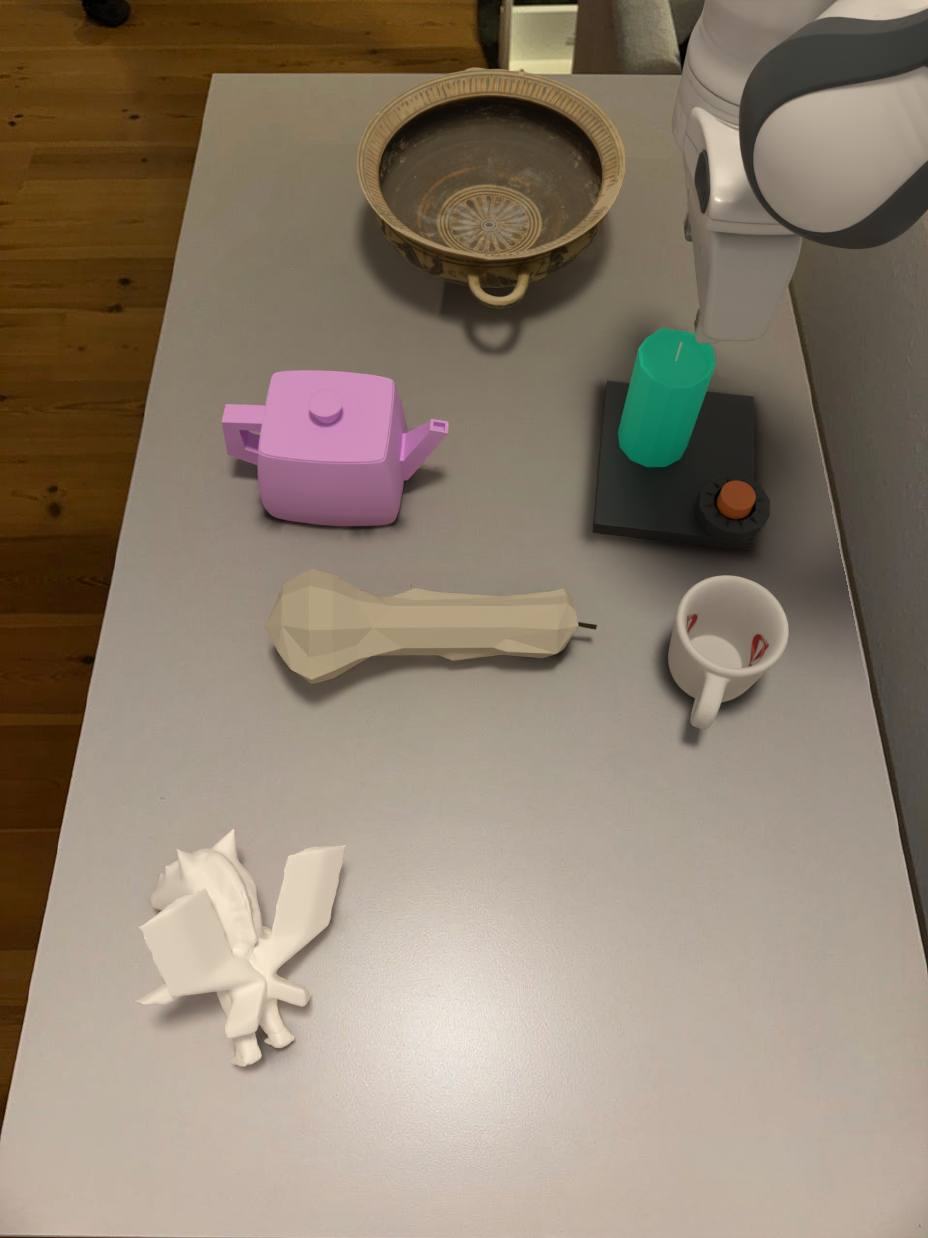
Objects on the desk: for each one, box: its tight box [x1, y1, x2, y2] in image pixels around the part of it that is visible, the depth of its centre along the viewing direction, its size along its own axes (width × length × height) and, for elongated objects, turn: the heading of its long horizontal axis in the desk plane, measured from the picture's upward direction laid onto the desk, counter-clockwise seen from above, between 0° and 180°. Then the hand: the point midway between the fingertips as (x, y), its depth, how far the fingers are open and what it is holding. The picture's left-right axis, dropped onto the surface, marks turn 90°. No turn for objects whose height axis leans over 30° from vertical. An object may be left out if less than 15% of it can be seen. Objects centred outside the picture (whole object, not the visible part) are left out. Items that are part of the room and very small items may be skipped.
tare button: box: [717, 481, 756, 519], centre depth 83 cm, size 3×3×2 cm
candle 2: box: [264, 568, 598, 685], centre depth 77 cm, size 9×8×25 cm
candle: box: [618, 327, 717, 467], centre depth 82 cm, size 6×6×12 cm
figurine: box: [133, 828, 347, 1068], centre depth 66 cm, size 15×12×14 cm
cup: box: [667, 574, 790, 730], centre depth 75 cm, size 11×8×8 cm
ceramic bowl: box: [355, 67, 627, 309], centre depth 95 cm, size 30×24×10 cm
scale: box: [592, 380, 771, 551], centre depth 87 cm, size 14×15×3 cm
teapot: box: [221, 369, 449, 527], centre depth 83 cm, size 18×10×10 cm, turn 86°
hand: (700, 283), depth 72 cm, fingers open, 8 cm apart
